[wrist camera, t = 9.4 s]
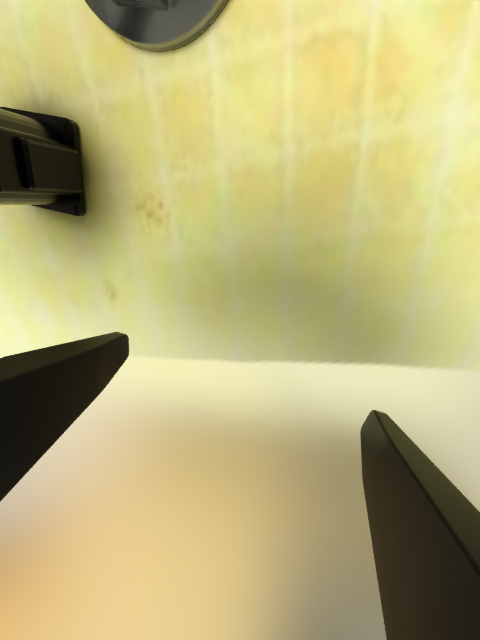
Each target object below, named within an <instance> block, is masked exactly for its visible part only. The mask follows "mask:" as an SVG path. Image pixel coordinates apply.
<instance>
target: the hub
mask: <svg viewBox="0 0 480 640" xmlns="http://www.w3.org/2000/svg"><path fill="white" fill-rule="evenodd" d="M85 1H86V3H87V4H88V6H89V7H90V8H91V10H92V11H93V12H94V13H95V14H96V15H97V16H98V17H99V19H100V20H102V21H103V22H104V23H105V24H106V25H107V26H108V27H109V28H111V29H112V30H113V31H114V32H115V33H116V34H117V35H119V36H120V37H121V38H122V39H124V40H125V41H127V42H128V43H130V44H132V45H134V46H136V47H139V48H141V49H145V50H149V51H168V50H174V49H176V48H179V47H182V46H184V45H186V44H188V43H189V42H191V41H193V40H195V39H196V38H197V37H198V36H199V35H201V34H202V33H203V32H204V31H205V30H206V29H207V28H208V27H209V26H210V25H211V24H212V23H213V22H214V21H215V19H216V18H217V17H218V15H219V14H220V12H221V11H222V10H223V8H224V7H225V5H226V3H227V1H228V0H85Z"/></svg>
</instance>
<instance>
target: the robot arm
mask: <svg viewBox="0 0 480 640" xmlns="http://www.w3.org/2000/svg"><path fill="white" fill-rule="evenodd" d="M69 125H70V130H69ZM0 205H33V206H37V207H42V208H46V209H50V210H54V211H58V212H63V213H67V214H71V215H75V216H83V215H85V200H84V190H83V179H82V169H81V158H80V148H79V137H78V128H77V125H76V123H75V122H74V121H72V120H70V119H67V118H62V117H57V116H51V115H45V114H40V113H34V112H28V111H23V110H17V109H11V108H6V107H0ZM78 208H79V211H78ZM128 355H129V338H128V336H127V335H126V334H123V333H120V332H114V333H109V334H105V335H100V336H96V337H91V338H87V339H82V340H78V341H73V342H69V343H64V344H60V345H55V346H51V347H46V348H42V349H37V350H33V351H28V352H24V353H19V354H15V355H10V356H6V357H3V358H0V501H1V500H2V499H3V498H4V497H5V496H6V495H7V494H8V493H9V491H11V489H12V488H13V487H14V486H15V485H16V484H17V483H18V482H19V481H20V480H21V479H22V478H23V476H24V475H25V474H26V473H27V472H28V471H29V470H30V469H31V468H32V467H33V466H34V464H35V463H36V462H37V461H38V460H39V459H40V458H41V457H42V456H43V455H44V454H45V453H46V451H47V450H48V449H49V448H50V447H51V446H52V445H53V444H54V443H55V442H56V441H57V439H58V438H59V437H60V436H61V435H62V434H63V433H64V432H65V431H66V430H67V429H68V428H69V427H70V425H71V424H72V423H73V422H74V421H75V420H76V419H77V418H78V417H79V416H80V415H81V413H82V412H83V411H84V410H85V409H86V408H87V407H88V406H89V405H90V404H91V403H92V402H93V401H94V400H95V398H96V397H97V396H98V395H99V394H100V393H101V392H102V390H103V389H104V388H105V387H106V386H107V384H108V383H109V382H110V380H111V379H112V378H113V377H114V375H115V373H116V372H117V371H118V370H119V368H120V367H121V366H122V365H123V363H124V362H125V360H126V359H127V357H128ZM361 455H362V478H363V486H364V493H365V500H366V506H367V513H368V519H369V526H370V532H371V539H372V546H373V552H374V559H375V565H376V572H377V579H378V585H379V592H380V598H381V605H382V611H383V618H384V624H385V631H386V638H387V640H480V512H479V511H478V510H477V509H476V508H475V507H474V506H473V505H472V504H471V502H470V501H469V500H468V499H467V498H466V497H465V496H464V495H463V494H462V493H461V492H460V491H459V490H458V489H457V488H456V487H455V486H454V484H453V483H452V482H451V481H450V480H449V479H448V478H447V477H446V476H445V475H444V474H443V473H442V472H441V471H440V470H439V469H438V468H437V467H436V466H435V465H434V463H433V462H431V460H430V459H429V458H428V457H427V456H426V455H425V454H424V453H423V452H422V451H421V450H420V449H419V448H418V447H417V445H415V444H414V442H413V441H412V440H411V439H410V438H409V437H408V436H407V435H406V434H405V433H404V432H403V431H402V430H401V429H400V428H399V427H398V426H397V424H396V423H395V422H394V421H393V420H392V419H391V418H390V417H389V416H388V415H387V414H385V413H382V412H380V411H376V410H372V411H371V412H370V413H369V415H368V417H367V419H366V421H365V422H364V424H363V426H362V428H361Z"/></svg>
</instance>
